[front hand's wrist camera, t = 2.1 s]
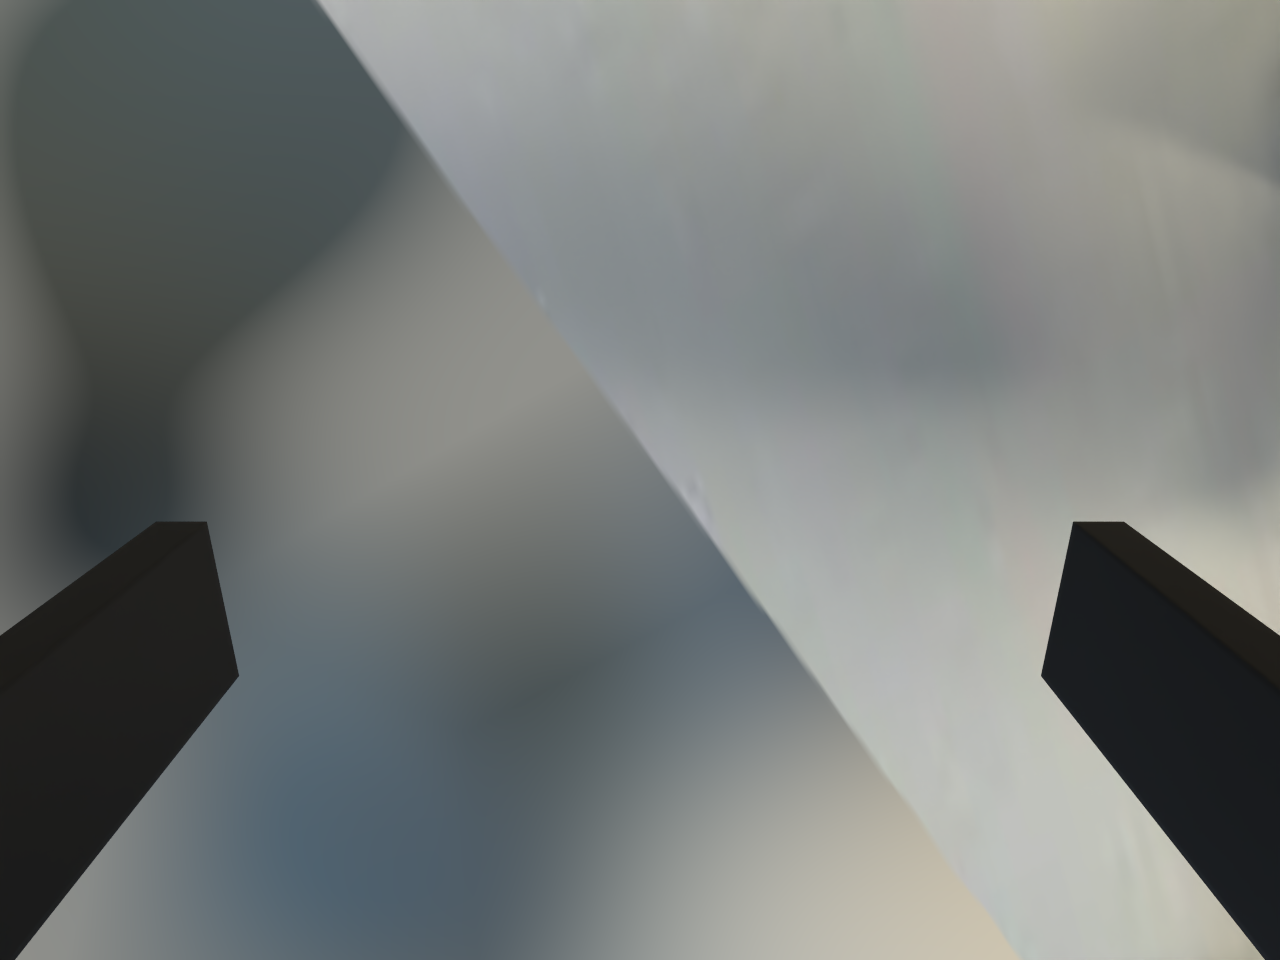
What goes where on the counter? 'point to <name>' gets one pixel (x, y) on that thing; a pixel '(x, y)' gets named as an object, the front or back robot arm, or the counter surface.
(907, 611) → the counter surface
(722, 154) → the counter surface
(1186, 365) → the counter surface
